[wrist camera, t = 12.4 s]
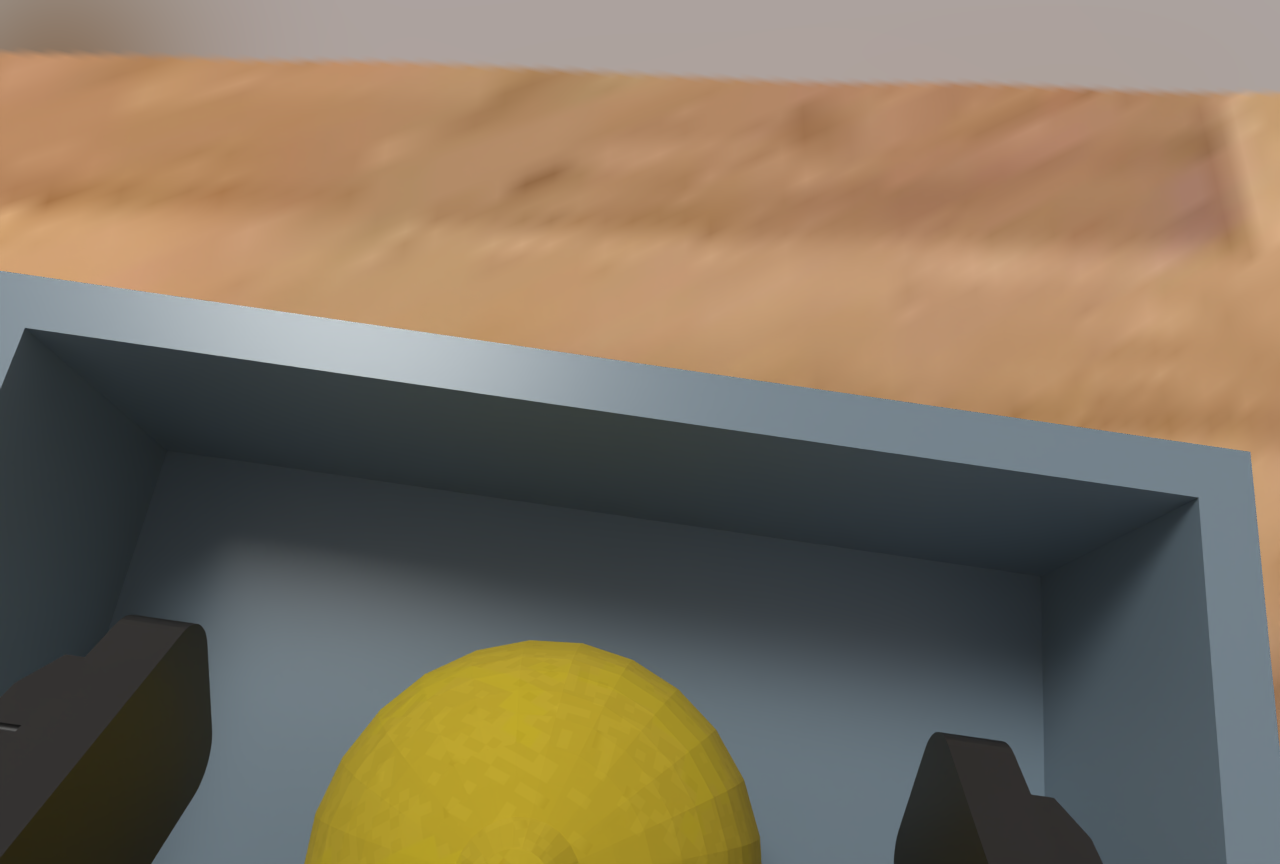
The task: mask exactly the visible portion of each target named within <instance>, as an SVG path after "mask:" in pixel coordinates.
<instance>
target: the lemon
mask: <svg viewBox="0 0 1280 864" xmlns="http://www.w3.org/2000/svg"><path fill="white" fill-rule="evenodd" d="M304 864H761V844H760V835H759V831H758V828H757V824H756V821H755V817H754V813H753V810H752V806H751V803H750V799H749V796H748V792H747V788H746V785H745V781H744V779H743V777H742V775H741V773H740V772H739V770H738V768H737V766H736V764H735V763H734V761H733V759H732V757H731V755H730V754H729V752H728V750H727V748H726V746H725V745H724V743H723V741H722V739H721V737H720V736H719V734H718V732H717V730H716V729H715V728H714V727H713V726H712V725H711V724H710V722H709V721H708V720H707V719H706V718H705V717H704V716H703V715H702V714H701V713H700V712H699V711H698V710H697V709H696V708H695V706H694V705H693V704H692V703H691V702H690V701H689V700H688V699H687V698H686V697H685V696H684V695H683V694H682V693H681V692H680V691H679V689H677V688H676V687H674V686H673V685H671V684H670V683H668V682H666V681H665V680H663V679H662V678H660V677H659V676H657V675H656V674H654V673H652V672H651V671H649V670H648V669H646V668H645V667H643V666H642V665H640V664H639V663H637V662H635V661H634V660H632V659H629V658H626V657H623V656H620V655H617V654H614V653H611V652H608V651H605V650H602V649H599V648H596V647H593V646H590V645H587V644H584V643H570V642H553V641H536V640H528V641H523V642H518V643H512V644H507V645H502V646H496V647H491V648H486V649H481V650H476V651H474V652H472V653H470V654H467V655H465V656H463V657H461V658H459V659H457V660H454V661H452V662H450V663H448V664H446V665H443V666H441V667H439V668H437V669H435V670H433V671H430V672H428V673H426V674H424V675H423V676H422V677H421V678H419V679H418V680H417V681H416V682H414V683H413V684H412V685H411V686H409V687H408V688H407V689H406V690H404V691H403V692H402V693H401V694H399V695H398V696H397V697H396V698H394V699H393V700H392V701H391V702H389V703H388V704H387V705H386V706H384V707H383V708H382V709H381V710H380V711H379V712H378V713H377V714H376V716H375V717H374V718H373V720H372V721H371V722H370V723H369V725H368V726H367V727H366V728H365V730H364V731H363V732H362V733H361V735H360V736H359V737H358V738H357V740H356V741H355V742H354V743H353V745H352V746H351V747H350V748H349V750H348V751H347V752H346V754H345V755H344V756H343V758H342V759H341V761H340V763H339V766H338V768H337V770H336V772H335V774H334V776H333V778H332V780H331V782H330V784H329V786H328V788H327V790H326V793H325V795H324V797H323V799H322V801H321V803H320V805H319V807H318V809H317V811H316V813H315V817H314V822H313V826H312V831H311V835H310V840H309V844H308V849H307V854H306V858H305V863H304Z"/></svg>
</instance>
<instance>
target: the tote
mask: <svg viewBox="0 0 1280 864" xmlns="http://www.w3.org/2000/svg"><path fill="white" fill-rule="evenodd" d="M127 615H139V616H146V617H153V618H160V619H167V620H174V621H181V622H188V623H195V624H199V625H201V626H202V627H203V628H204V630H205V632H206V636H207V645H208V663H209V681H210V699H211V717H212V745H211V752H210V756H209V761H208V764H207V768H206V771H205V774H204V776H203V779H202V781H201V784H200V786H199V788H198V790H197V792H196V793H195V795H194V797H193V798H192V800H191V802H190V803H189V805H188V806H187V808H186V810H185V811H184V813H183V814H182V816H181V817H180V819H179V821H178V822H177V824H176V825H175V827H174V829H173V830H172V832H171V833H170V835H169V836H168V838H167V840H166V841H165V843H164V844H163V846H162V848H161V849H160V851H159V852H158V854H157V855H156V857H155V859H154V860H153V862H152V863H151V864H304V863H305V858H306V854H307V849H308V844H309V840H310V835H311V831H312V826H313V822H314V817H315V813H316V811H317V809H318V807H319V805H320V803H321V801H322V799H323V797H324V795H325V793H326V790H327V788H328V786H329V784H330V782H331V780H332V778H333V776H334V774H335V772H336V770H337V768H338V766H339V763H340V761H341V759H342V758H343V756H344V755H345V754H346V752H347V751H348V750H349V748H350V747H351V746H352V745H353V743H354V742H355V741H356V740H357V738H358V737H359V736H360V735H361V733H362V732H363V731H364V730H365V728H366V727H367V726H368V725H369V723H370V722H371V721H372V720H373V718H374V717H375V716H376V714H377V713H378V712H379V711H380V710H381V709H382V708H383V707H384V706H386V705H387V704H388V703H389V702H391V701H392V700H393V699H394V698H396V697H397V696H398V695H399V694H401V693H402V692H403V691H404V690H406V689H407V688H408V687H409V686H411V685H412V684H413V683H414V682H416V681H417V680H418V679H419V678H421V677H422V676H423V675H424V674H426V673H428V672H430V671H433V670H435V669H437V668H439V667H441V666H443V665H446V664H448V663H450V662H452V661H454V660H457V659H459V658H461V657H463V656H465V655H467V654H470V653H472V652H474V651H476V650H481V649H486V648H491V647H496V646H502V645H507V644H512V643H518V642H523V641H528V640H536V641H553V642H570V643H584V644H587V645H590V646H593V647H596V648H599V649H602V650H605V651H608V652H611V653H614V654H617V655H620V656H623V657H626V658H629V659H632V660H634V661H635V662H637V663H639V664H640V665H642V666H643V667H645V668H646V669H648V670H649V671H651V672H652V673H654V674H656V675H657V676H659V677H660V678H662V679H663V680H665V681H666V682H668V683H670V684H671V685H673V686H674V687H676V688H677V689H679V691H680V692H681V693H682V694H683V695H684V696H685V697H686V698H687V699H688V700H689V701H690V702H691V703H692V704H693V705H694V706H695V708H696V709H697V710H698V711H699V712H700V713H701V714H702V715H703V716H704V717H705V718H706V719H707V720H708V721H709V722H710V724H711V725H712V726H713V727H714V728H715V729H716V730H717V732H718V734H719V736H720V737H721V739H722V741H723V743H724V745H725V746H726V748H727V750H728V752H729V754H730V755H731V757H732V759H733V761H734V763H735V764H736V766H737V768H738V770H739V772H740V773H741V775H742V777H743V779H744V781H745V785H746V788H747V792H748V796H749V799H750V803H751V806H752V810H753V813H754V817H755V821H756V824H757V828H758V831H759V835H760V844H761V864H894V851H895V844H896V839H897V834H898V831H899V828H900V825H901V821H902V818H903V815H904V812H905V809H906V806H907V803H908V800H909V797H910V794H911V791H912V787H913V784H914V781H915V778H916V775H917V772H918V769H919V766H920V763H921V760H922V757H923V753H924V750H925V747H926V745H927V742H928V740H929V738H930V737H931V736H932V734H934V733H935V732H942V733H949V734H956V735H963V736H970V737H977V738H984V739H991V740H998V741H1004V742H1006V743H1007V744H1008V745H1009V746H1010V747H1011V749H1012V751H1013V753H1014V755H1015V757H1016V760H1017V762H1018V764H1019V767H1020V769H1021V771H1022V774H1023V776H1024V779H1025V781H1026V783H1027V786H1028V788H1029V790H1030V793H1031V795H1038V796H1045V797H1052V798H1055V799H1056V801H1057V802H1058V803H1059V804H1060V805H1061V806H1062V807H1063V808H1064V809H1065V810H1066V811H1067V813H1068V814H1069V815H1070V816H1071V817H1072V818H1073V819H1074V820H1075V821H1076V822H1077V824H1078V825H1079V826H1080V827H1081V828H1082V829H1083V830H1084V831H1085V832H1086V833H1087V835H1088V836H1089V837H1090V838H1091V839H1092V841H1093V843H1094V846H1095V848H1096V850H1097V852H1098V854H1099V856H1100V858H1101V860H1102V863H1103V864H1280V749H1279V739H1278V729H1277V719H1276V708H1275V698H1274V688H1273V678H1272V668H1271V658H1270V648H1269V637H1268V627H1267V617H1266V607H1265V597H1264V587H1263V577H1262V566H1261V556H1260V546H1259V536H1258V526H1257V516H1256V506H1255V495H1254V485H1253V475H1252V465H1251V455H1250V452H1247V451H1240V450H1233V449H1226V448H1219V447H1212V446H1205V445H1199V444H1192V443H1185V442H1178V441H1171V440H1164V439H1157V438H1150V437H1143V436H1136V435H1130V434H1123V433H1116V432H1109V431H1102V430H1095V429H1088V428H1081V427H1074V426H1067V425H1061V424H1054V423H1047V422H1040V421H1033V420H1026V419H1019V418H1012V417H1005V416H998V415H991V414H985V413H978V412H971V411H964V410H957V409H950V408H943V407H936V406H929V405H922V404H916V403H909V402H902V401H895V400H888V399H881V398H874V397H867V396H860V395H853V394H847V393H840V392H833V391H826V390H819V389H812V388H805V387H798V386H791V385H784V384H778V383H771V382H764V381H757V380H750V379H743V378H736V377H729V376H722V375H715V374H709V373H702V372H695V371H688V370H681V369H674V368H667V367H660V366H653V365H646V364H639V363H633V362H626V361H619V360H612V359H605V358H598V357H591V356H584V355H577V354H570V353H564V352H557V351H550V350H543V349H536V348H529V347H522V346H515V345H508V344H501V343H495V342H488V341H481V340H474V339H467V338H460V337H453V336H446V335H439V334H432V333H426V332H419V331H412V330H405V329H398V328H391V327H384V326H377V325H370V324H363V323H357V322H350V321H343V320H336V319H329V318H322V317H315V316H308V315H301V314H294V313H287V312H281V311H274V310H267V309H260V308H253V307H246V306H239V305H232V304H225V303H218V302H212V301H205V300H198V299H191V298H184V297H177V296H170V295H163V294H156V293H149V292H143V291H136V290H129V289H122V288H115V287H108V286H101V285H94V284H87V283H80V282H74V281H67V280H60V279H53V278H46V277H39V276H32V275H25V274H18V273H11V272H5V271H0V697H1V696H2V695H3V694H4V693H5V692H6V691H7V690H8V689H9V688H10V687H11V686H12V685H13V684H14V683H15V682H17V681H19V680H21V679H22V678H24V677H26V676H28V675H30V674H31V673H33V672H35V671H37V670H38V669H40V668H42V667H44V666H46V665H47V664H49V663H51V662H53V661H55V660H56V659H58V658H60V657H62V656H63V655H65V654H67V655H74V656H81V657H85V656H86V655H87V654H88V653H89V652H90V651H91V650H92V649H93V648H94V647H95V646H96V644H97V643H98V642H99V641H100V640H101V639H102V638H103V637H104V636H105V635H106V634H107V633H108V632H109V630H110V629H111V628H112V627H113V626H114V625H115V624H116V623H117V622H118V621H119V620H120V619H122V618H123V617H125V616H127Z"/></svg>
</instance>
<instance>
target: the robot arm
mask: <svg viewBox="0 0 1280 864" xmlns="http://www.w3.org/2000/svg"><path fill="white" fill-rule="evenodd" d="M211 745H212V717H211V699H210V681H209V663H208V645H207V636H206V632H205V630H204V628H203V627H202V626H201V625H199V624H195V623H188V622H181V621H174V620H167V619H160V618H153V617H146V616H139V615H127V616H125V617H123V618H122V619H120V620H119V621H118V622H117V623H116V624H115V625H114V626H113V627H112V628H111V629H110V630H109V632H108V633H107V634H106V635H105V636H104V637H103V638H102V639H101V640H100V641H99V642H98V643H97V644H96V646H95V647H94V648H93V649H92V650H91V651H90V652H89V653H88V654H87V655H86V656H85V657H81V656H74V655H67V654H65V655H63V656H62V657H60V658H58V659H56V660H55V661H53V662H51V663H49V664H47V665H46V666H44V667H42V668H40V669H38V670H37V671H35V672H33V673H31V674H30V675H28V676H26V677H24V678H22V679H21V680H19V681H17V682H15V683H14V684H13V685H12V686H11V687H10V688H9V689H8V690H7V691H6V692H5V693H4V694H3V695H2V696H1V697H0V864H151V863H152V862H153V860H154V859H155V857H156V855H157V854H158V852H159V851H160V849H161V848H162V846H163V844H164V843H165V841H166V840H167V838H168V836H169V835H170V833H171V832H172V830H173V829H174V827H175V825H176V824H177V822H178V821H179V819H180V817H181V816H182V814H183V813H184V811H185V810H186V808H187V806H188V805H189V803H190V802H191V800H192V798H193V797H194V795H195V793H196V792H197V790H198V788H199V786H200V784H201V781H202V779H203V776H204V774H205V771H206V768H207V764H208V761H209V756H210V752H211ZM894 864H1103V863H1102V860H1101V858H1100V856H1099V854H1098V852H1097V850H1096V848H1095V846H1094V843H1093V841H1092V839H1091V838H1090V837H1089V836H1088V835H1087V833H1086V832H1085V831H1084V830H1083V829H1082V828H1081V827H1080V826H1079V825H1078V824H1077V822H1076V821H1075V820H1074V819H1073V818H1072V817H1071V816H1070V815H1069V814H1068V813H1067V811H1066V810H1065V809H1064V808H1063V807H1062V806H1061V805H1060V804H1059V803H1058V802H1057V801H1056V799H1055V798H1052V797H1045V796H1038V795H1031V793H1030V790H1029V788H1028V786H1027V783H1026V781H1025V779H1024V776H1023V774H1022V771H1021V769H1020V767H1019V764H1018V762H1017V760H1016V757H1015V755H1014V753H1013V751H1012V749H1011V747H1010V746H1009V745H1008V744H1007V743H1006V742H1004V741H998V740H991V739H984V738H977V737H970V736H963V735H956V734H949V733H942V732H935V733H934V734H932V736H931V737H930V738H929V740H928V742H927V745H926V747H925V750H924V753H923V757H922V760H921V763H920V766H919V769H918V772H917V775H916V778H915V781H914V784H913V787H912V791H911V794H910V797H909V800H908V803H907V806H906V809H905V812H904V815H903V818H902V821H901V825H900V828H899V831H898V834H897V839H896V844H895V851H894Z"/></svg>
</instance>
